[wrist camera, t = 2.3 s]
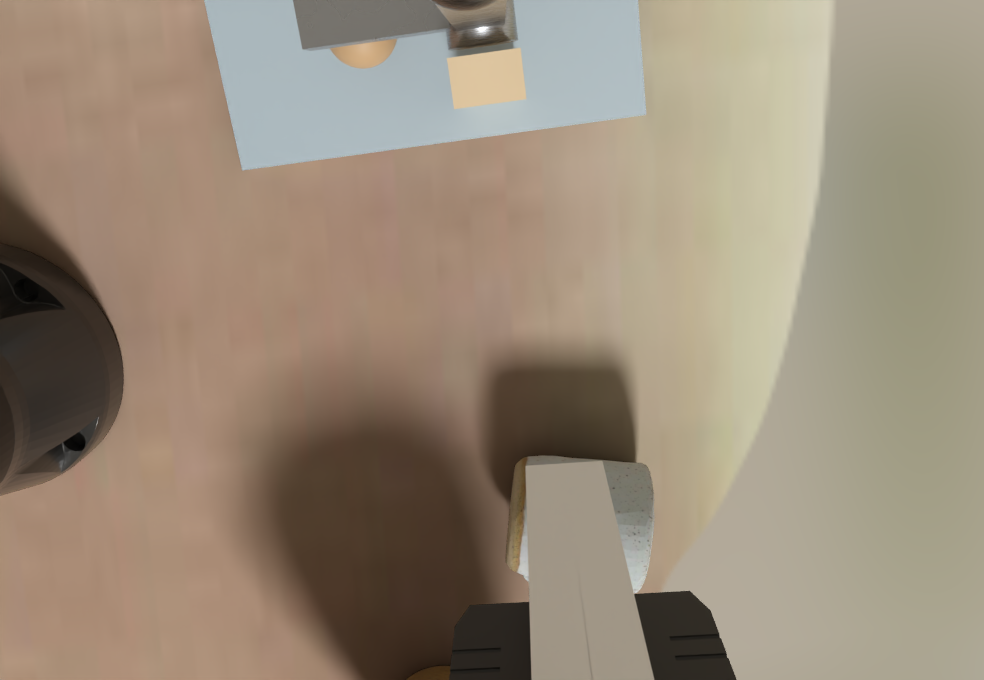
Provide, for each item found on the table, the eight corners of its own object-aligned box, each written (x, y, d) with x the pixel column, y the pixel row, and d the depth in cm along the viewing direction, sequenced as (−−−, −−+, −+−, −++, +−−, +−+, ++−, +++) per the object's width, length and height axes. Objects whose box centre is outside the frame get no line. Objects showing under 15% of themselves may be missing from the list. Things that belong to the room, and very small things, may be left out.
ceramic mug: (512, 432, 50) (514, 494, 43) (642, 442, 50) (665, 504, 43) (500, 576, 54) (499, 655, 46) (621, 584, 54) (639, 665, 47)
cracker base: (253, 166, 46) (170, 193, 34) (202, -65, 42) (90, -122, 30) (640, 113, 44) (688, 122, 33) (621, -129, 41) (668, -213, 29)
